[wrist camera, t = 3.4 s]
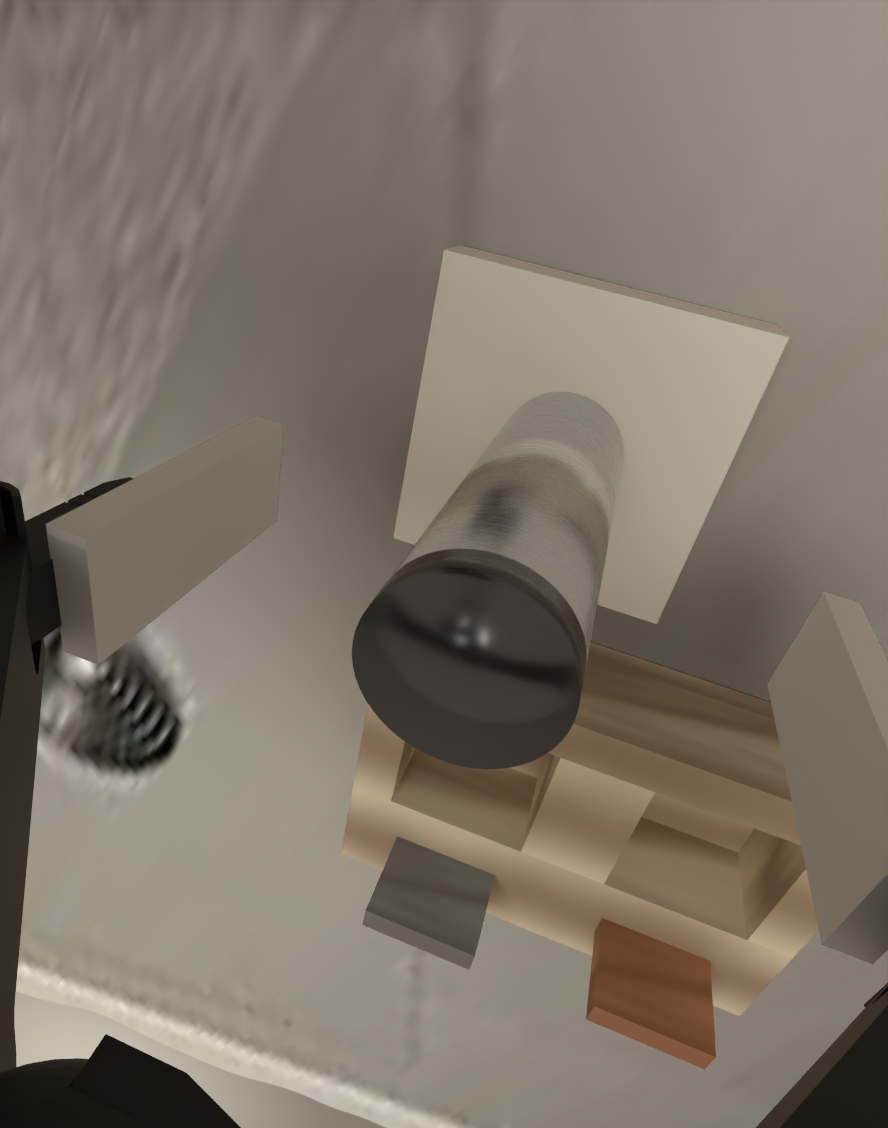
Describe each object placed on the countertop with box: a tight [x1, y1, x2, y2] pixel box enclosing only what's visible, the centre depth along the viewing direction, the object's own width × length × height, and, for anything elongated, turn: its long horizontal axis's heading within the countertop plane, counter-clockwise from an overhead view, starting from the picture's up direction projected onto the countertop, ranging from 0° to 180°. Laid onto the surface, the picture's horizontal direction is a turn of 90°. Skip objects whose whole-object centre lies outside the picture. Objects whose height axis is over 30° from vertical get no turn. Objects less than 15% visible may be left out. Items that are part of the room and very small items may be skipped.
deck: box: [393, 245, 789, 624], centre depth 22 cm, size 10×10×2 cm
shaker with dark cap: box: [352, 392, 624, 769], centre depth 16 cm, size 4×4×12 cm
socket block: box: [341, 642, 819, 1069], centre depth 26 cm, size 12×18×8 cm, turn 79°
